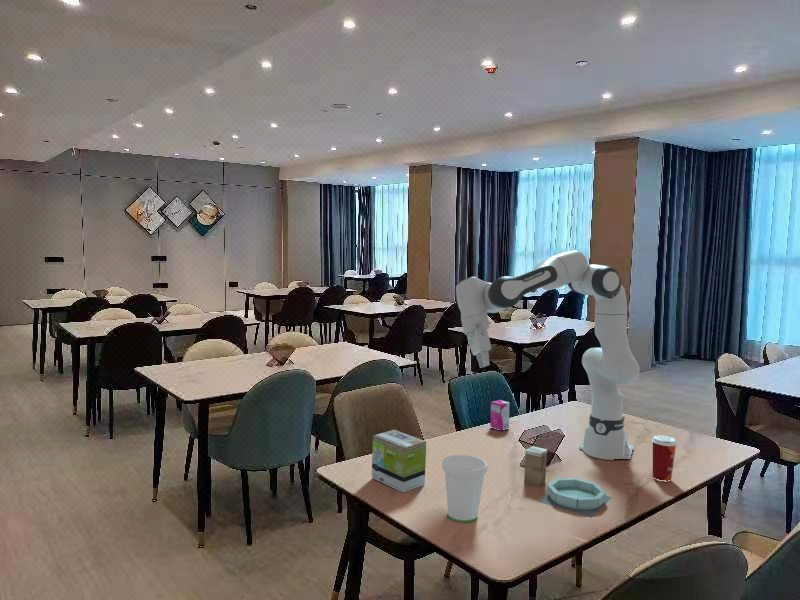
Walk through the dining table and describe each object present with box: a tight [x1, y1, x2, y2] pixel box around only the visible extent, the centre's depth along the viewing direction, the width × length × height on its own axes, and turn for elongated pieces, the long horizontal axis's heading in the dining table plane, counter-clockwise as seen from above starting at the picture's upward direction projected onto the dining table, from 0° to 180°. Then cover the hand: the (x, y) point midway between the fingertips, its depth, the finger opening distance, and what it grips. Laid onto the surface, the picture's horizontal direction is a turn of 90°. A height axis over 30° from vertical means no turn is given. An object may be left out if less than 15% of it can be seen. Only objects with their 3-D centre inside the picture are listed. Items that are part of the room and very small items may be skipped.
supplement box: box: [489, 399, 510, 430], centre depth 248 cm, size 6×6×12 cm
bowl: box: [546, 477, 607, 510], centre depth 179 cm, size 16×16×3 cm
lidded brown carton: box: [523, 445, 548, 488], centre depth 191 cm, size 5×5×11 cm
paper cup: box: [651, 434, 678, 481], centre depth 198 cm, size 8×8×14 cm
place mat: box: [538, 493, 613, 518], centre depth 179 cm, size 18×16×1 cm
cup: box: [441, 454, 488, 523], centre depth 166 cm, size 12×12×15 cm
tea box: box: [371, 429, 427, 494], centre depth 188 cm, size 15×10×15 cm, turn 45°
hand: (484, 366), depth 195 cm, fingers open, 8 cm apart
